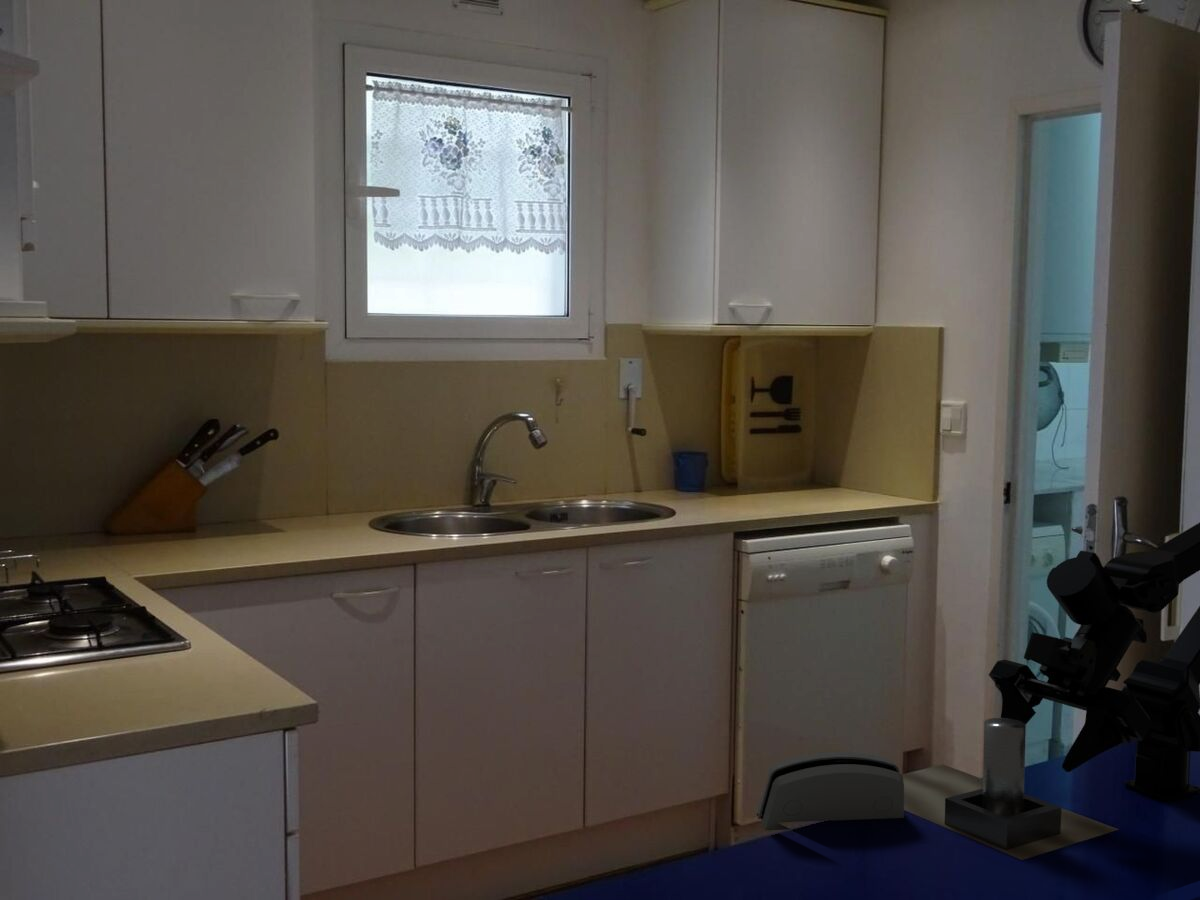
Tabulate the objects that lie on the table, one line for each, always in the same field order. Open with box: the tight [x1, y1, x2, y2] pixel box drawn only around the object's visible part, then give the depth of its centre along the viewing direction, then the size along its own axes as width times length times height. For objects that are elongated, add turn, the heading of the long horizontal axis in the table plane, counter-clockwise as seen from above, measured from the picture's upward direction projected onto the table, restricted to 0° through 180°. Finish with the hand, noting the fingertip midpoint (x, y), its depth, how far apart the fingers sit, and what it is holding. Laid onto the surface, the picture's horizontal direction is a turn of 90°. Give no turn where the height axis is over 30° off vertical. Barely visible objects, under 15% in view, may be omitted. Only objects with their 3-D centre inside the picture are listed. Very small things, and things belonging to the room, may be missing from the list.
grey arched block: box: [756, 751, 905, 831], centre depth 154 cm, size 17×5×10 cm, turn 96°
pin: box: [982, 717, 1027, 817], centre depth 149 cm, size 4×4×12 cm
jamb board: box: [901, 763, 1120, 861], centre depth 157 cm, size 16×26×1 cm, turn 33°
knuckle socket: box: [945, 788, 1063, 850], centre depth 150 cm, size 9×9×3 cm
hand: (1030, 758), depth 152 cm, fingers open, 9 cm apart
